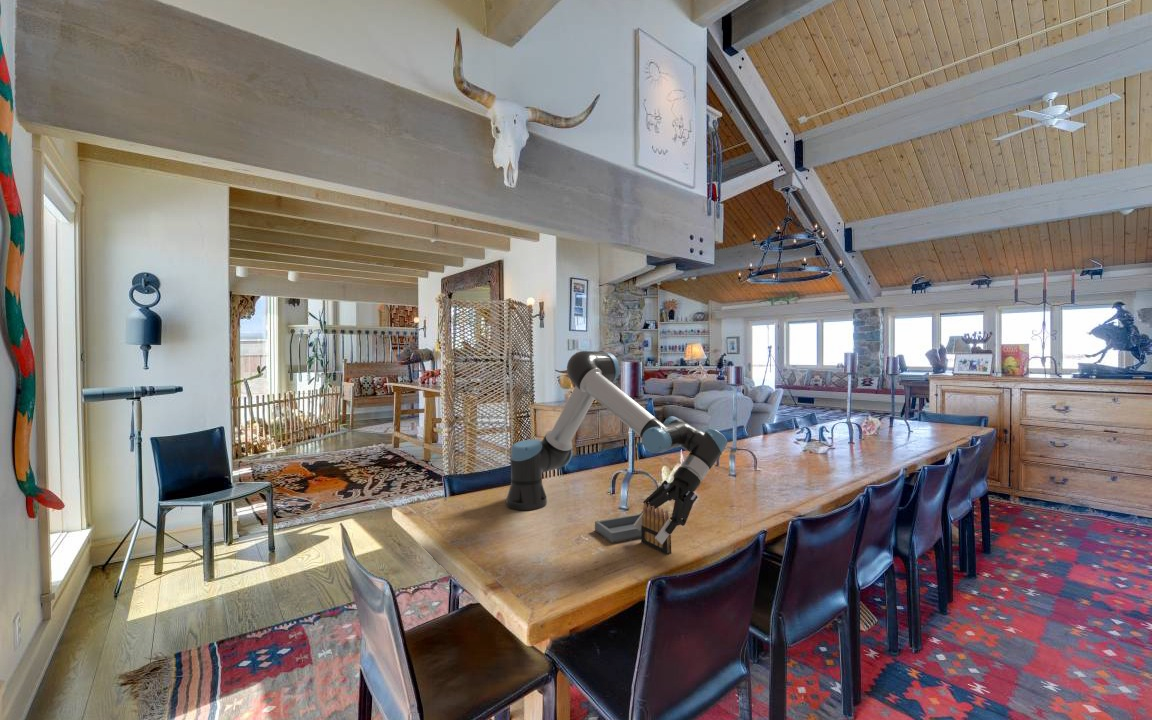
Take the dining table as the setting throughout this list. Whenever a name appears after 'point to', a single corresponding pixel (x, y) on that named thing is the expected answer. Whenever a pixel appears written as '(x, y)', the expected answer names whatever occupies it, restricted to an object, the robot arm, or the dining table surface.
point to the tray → (618, 528)
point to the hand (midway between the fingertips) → (647, 534)
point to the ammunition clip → (654, 529)
